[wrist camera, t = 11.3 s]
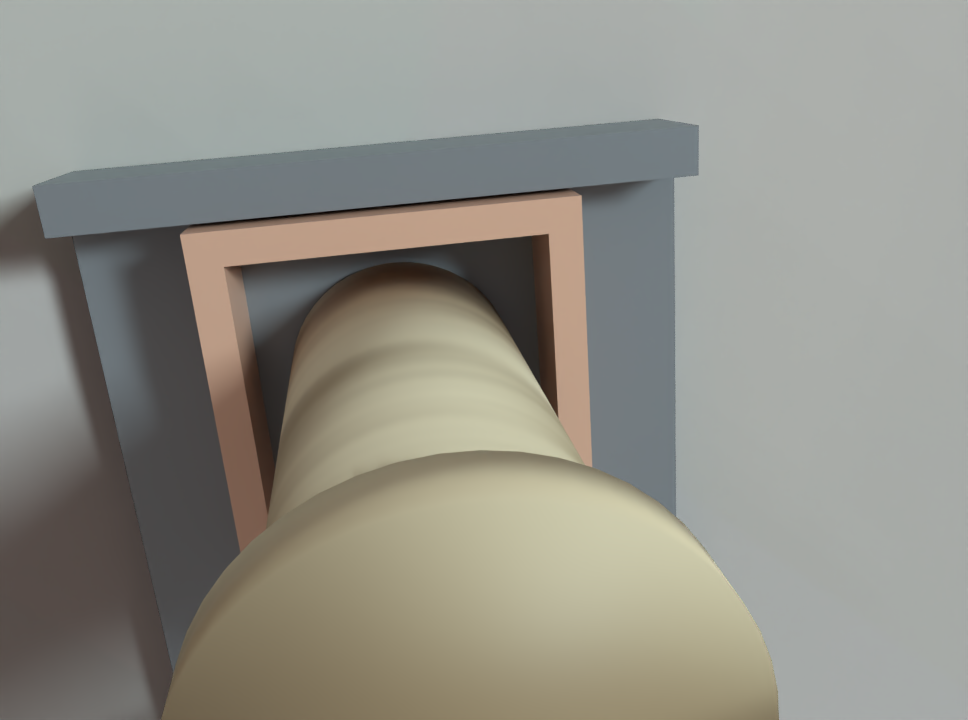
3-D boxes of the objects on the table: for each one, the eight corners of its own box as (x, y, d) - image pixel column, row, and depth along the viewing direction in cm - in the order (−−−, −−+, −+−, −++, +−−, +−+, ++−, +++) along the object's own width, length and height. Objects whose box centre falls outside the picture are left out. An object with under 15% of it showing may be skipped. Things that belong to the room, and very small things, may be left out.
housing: (659, 119, 20) (1120, 196, 8) (666, 771, 26) (931, 1382, 14) (73, 170, 19) (-461, 361, 7) (225, 845, 25) (95, 1592, 13)
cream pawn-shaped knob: (548, 471, 22) (769, 933, 10) (286, 511, 21) (220, 1052, 10) (531, 214, 19) (790, 451, 8) (236, 248, 19) (76, 559, 7)
